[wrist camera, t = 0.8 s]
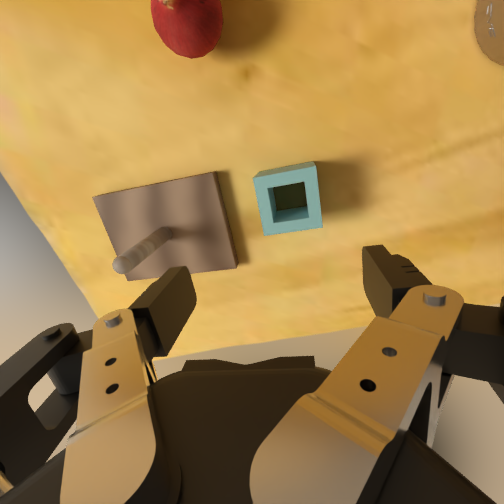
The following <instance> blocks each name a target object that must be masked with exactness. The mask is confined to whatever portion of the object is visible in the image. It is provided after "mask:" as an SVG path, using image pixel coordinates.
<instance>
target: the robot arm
mask: <svg viewBox="0 0 504 504" xmlns="http://www.w3.org/2000/svg"><path fill="white" fill-rule="evenodd" d="M475 33H476V38H477V42H478V44H479V46H480V47H481V49H482V51H483V53H484V54H486V55H487V56H488V57H489V58H490V59H491V60H492V61H494V62H496V63H498V64H500V65H504V0H478V1H477V6H476V12H475ZM362 263H363V285H364V290H365V293H366V296H367V298H368V300H369V302H370V304H371V306H372V308H373V311H374V313H375V315H376V317H375V318H374V319H373V321H372V322H371V323H370V324H369V326H368V327H367V328H366V329H365V331H364V332H363V333H362V334H361V336H360V337H359V338H358V340H357V341H356V342H355V343H354V344H353V346H352V347H351V348H350V349H349V351H348V352H347V353H346V355H345V356H344V357H343V358H342V359H341V361H340V362H339V363H338V364H337V366H336V367H335V368H334V370H333V371H330V370H327V369H324V368H320V367H315V361H314V356H298V357H297V356H296V357H278V358H274V359H270V360H266V361H262V362H257V363H253V364H248V365H243V364H237V363H232V362H227V361H222V360H217V359H210V360H186V362H185V364H184V367H183V369H182V371H178V372H176V373H173V374H170V375H168V376H165V377H163V378H161V379H159V380H158V377H157V374H156V370H155V367H154V364H153V362H152V359H153V357H164V356H167V355H168V353H169V351H170V350H171V348H172V346H173V345H174V343H175V341H176V339H177V338H178V336H179V334H180V332H181V331H182V329H183V327H184V325H185V324H186V322H187V320H188V319H189V317H190V315H191V313H192V312H193V310H194V308H195V306H196V301H197V298H196V292H195V289H194V286H193V282H192V279H191V275H190V272H189V269H188V268H187V267H186V266H178V267H170V268H169V269H168V270H167V271H166V272H165V273H164V274H163V275H162V276H161V277H160V278H159V279H158V280H157V281H155V282H154V283H152V284H151V285H150V286H149V287H148V288H147V289H146V291H144V292H143V293H142V294H141V296H139V297H138V298H137V299H136V301H135V302H134V303H133V304H132V305H131V306H130V307H129V308H128V309H119V310H116V311H113V312H110V313H108V314H106V315H104V316H103V317H101V318H100V319H99V320H97V321H96V323H95V324H94V326H93V329H92V330H89V331H85V332H81V333H77V332H76V330H75V328H74V326H73V324H71V323H64V324H59V325H56V326H54V327H51V328H49V329H47V330H45V331H43V332H42V333H40V334H39V335H37V336H36V337H35V338H33V339H32V340H31V341H30V342H29V343H27V344H26V345H25V346H24V347H22V348H21V349H20V350H19V351H18V352H16V353H15V354H14V355H13V356H11V357H10V358H9V359H8V360H6V361H5V362H4V363H3V364H2V365H0V504H496V503H495V502H494V501H493V500H492V499H491V498H489V497H488V496H487V495H486V494H484V493H483V492H482V491H481V490H480V489H479V488H478V487H476V486H475V485H474V484H473V483H472V482H470V481H469V480H468V479H467V478H466V477H465V476H463V475H462V474H461V473H460V472H459V471H457V470H456V469H455V468H454V467H453V466H451V465H450V464H449V463H448V462H447V461H446V460H444V459H443V458H442V457H441V456H439V454H437V453H436V452H435V451H434V450H433V449H431V448H432V444H433V440H434V436H435V431H436V426H437V423H438V420H439V417H440V414H441V411H442V409H443V406H444V403H445V400H446V398H447V395H448V392H449V389H450V387H451V384H452V381H453V378H454V375H458V376H463V377H468V378H472V379H477V380H483V381H487V382H489V384H490V385H491V387H492V388H493V390H494V391H495V392H496V394H497V395H498V397H499V398H500V399H501V401H502V402H503V404H504V296H503V297H502V299H501V303H500V307H493V306H482V305H473V304H467V303H464V299H463V297H462V296H461V295H460V294H459V293H457V292H456V291H454V290H452V289H449V288H446V287H442V286H437V285H433V284H432V283H431V282H430V281H429V280H428V279H427V278H426V277H425V276H424V275H423V274H422V273H421V272H419V270H418V269H417V268H416V267H414V265H413V263H412V262H411V261H410V260H409V259H407V258H405V257H402V256H400V255H398V254H396V255H391V254H390V253H389V252H388V251H387V249H386V248H385V247H384V246H383V245H374V246H364V247H363V249H362ZM46 373H47V374H48V375H49V377H50V379H51V380H52V382H53V384H54V385H55V387H56V389H55V390H54V391H53V392H52V393H51V395H50V396H49V397H48V398H47V399H46V400H45V402H44V403H43V404H42V405H41V406H40V407H39V408H38V409H37V411H36V412H35V413H34V411H33V410H32V408H31V407H30V405H29V404H28V395H29V392H30V390H31V389H32V388H33V386H34V385H35V384H36V383H37V382H38V381H39V380H40V379H41V378H42V377H43V376H44V375H45V374H46ZM76 419H77V423H76V430H75V432H74V433H73V434H72V435H70V436H69V438H68V441H67V445H66V448H65V449H64V450H62V451H61V452H60V453H58V454H57V455H56V456H54V457H53V458H52V459H50V460H49V461H48V462H46V461H47V460H48V458H49V457H50V455H51V454H52V453H53V451H54V450H55V448H56V447H57V446H58V444H59V443H60V442H61V440H62V439H63V437H64V436H65V434H66V433H67V432H68V430H69V429H70V427H71V426H72V425H73V423H74V422H75V420H76Z"/></svg>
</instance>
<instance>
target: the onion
mask: <svg viewBox="0 0 504 504" xmlns="http://www.w3.org/2000/svg"><path fill="white" fill-rule="evenodd" d="M151 13H152V18H153V22H154V27H155V29H156V31H157V33H158V34H159V36H160V37H161V39H162V41H163V42H164V43H165V45H166V46H167V47H168V48H170V49H171V50H172V51H173V52H175V53H176V54H178V55H180V56H184V57H188V58H191V59H192V58H198V57H203V56H205V55H206V54H207V53H209V52H210V51H212V50H213V49H214V47H215V45H216V44H217V42H218V40H219V38H220V35H221V30H222V25H223V17H222V7H221V3H220V0H151Z"/></svg>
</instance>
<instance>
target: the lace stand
mask: <svg viewBox="0 0 504 504" xmlns="http://www.w3.org/2000/svg"><path fill="white" fill-rule="evenodd" d="M92 198H93V201H94V203H95V205H96V208H97V210H98V212H99V215H100V217H101V219H102V222H103V224H104V226H105V229H106V231H107V233H108V236H109V238H110V241H111V243H112V245H113V248H114V250H115V252H116V255H117V257H116V258H115V259H114V261H113V269H114V270H115V271H116V272H117V273H119V274H125V276H126V278H127V281H133V280H141V279H150V278H158V277H161V276H162V275H163V274H164V273H165V272H166V271H167V270H168V269H169V268H170V267H178V266H186V267H187V268H188V269H189V272H190V274H193V273H201V272H210V271H218V270H227V269H235V268H237V265H238V259H237V255H236V251H235V247H234V243H233V239H232V235H231V230H230V226H229V222H228V218H227V214H226V210H225V206H224V202H223V198H222V194H221V190H220V185H219V181H218V177H217V173H216V171H215V172H210V173H205V174H200V175H195V176H190V177H185V178H180V179H175V180H170V181H166V182H161V183H156V184H151V185H146V186H141V187H136V188H131V189H126V190H121V191H117V192H112V193H107V194H102V195H98V196H95V197H92Z"/></svg>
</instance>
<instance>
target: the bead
mask: <svg viewBox="0 0 504 504" xmlns="http://www.w3.org/2000/svg"><path fill="white" fill-rule="evenodd" d="M253 181H254V186H255V192H256V197H257V202H258V207H259V212H260V217H261V222H262V227H263V232H264V236H266V235H273V234H281V233H288V232H295V231H302V230H309V229H316V228H323V225H322V216H321V207H320V198H319V189H318V180H317V171H316V165H315V164H314V162H313V161H312V162H307V163H301V164H296V165H291V166H286V167H281V168H276V169H271V170H266V171H261V172H259V173H258V174H257V175H256V176H255V177H254V178H253ZM299 182H304V183H305V191H306V199H307V206H303V207H297V208H291V209H285V210H279V211H277V209H276V203H275V197H274V191H273V187H277V186H283V185H288V184H294V183H299Z"/></svg>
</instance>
